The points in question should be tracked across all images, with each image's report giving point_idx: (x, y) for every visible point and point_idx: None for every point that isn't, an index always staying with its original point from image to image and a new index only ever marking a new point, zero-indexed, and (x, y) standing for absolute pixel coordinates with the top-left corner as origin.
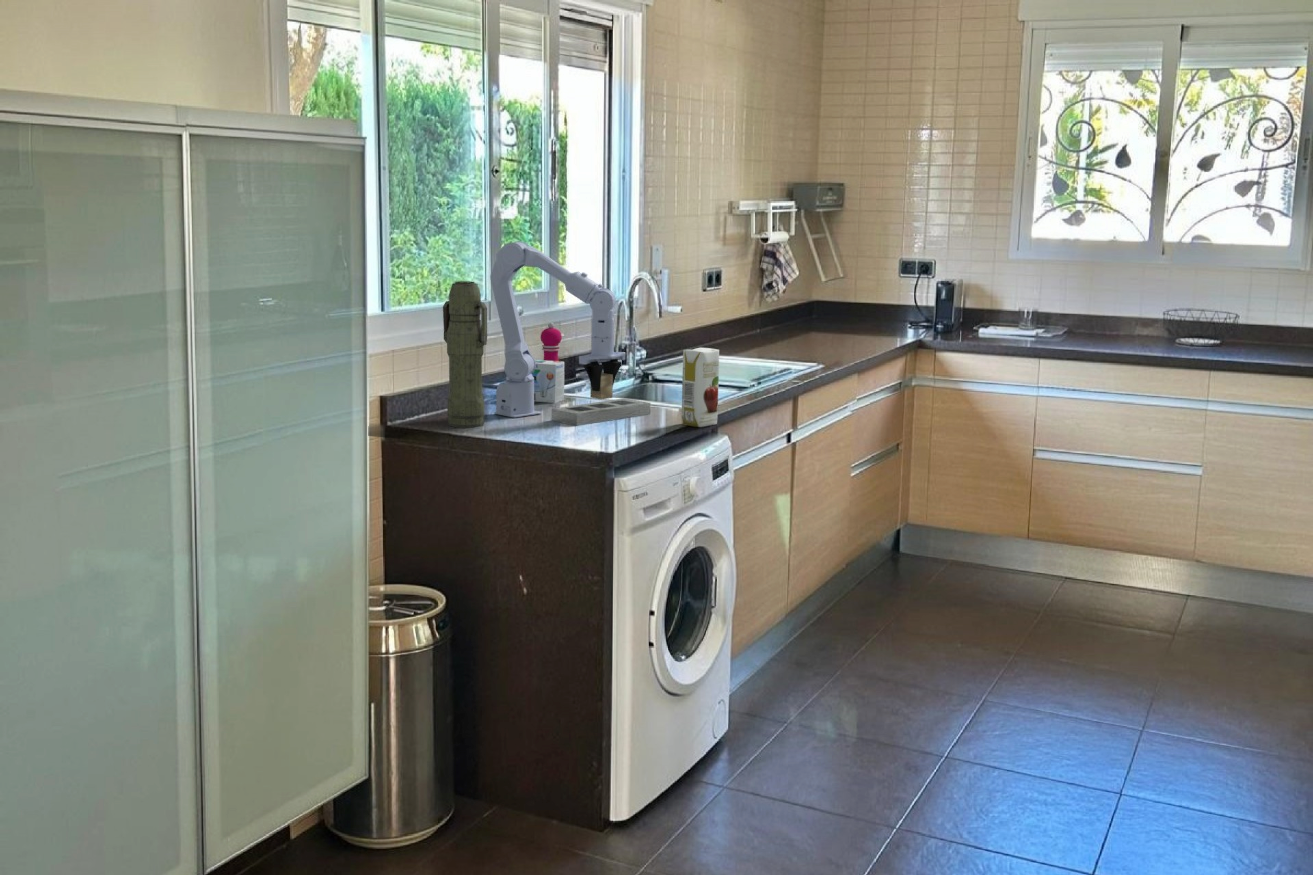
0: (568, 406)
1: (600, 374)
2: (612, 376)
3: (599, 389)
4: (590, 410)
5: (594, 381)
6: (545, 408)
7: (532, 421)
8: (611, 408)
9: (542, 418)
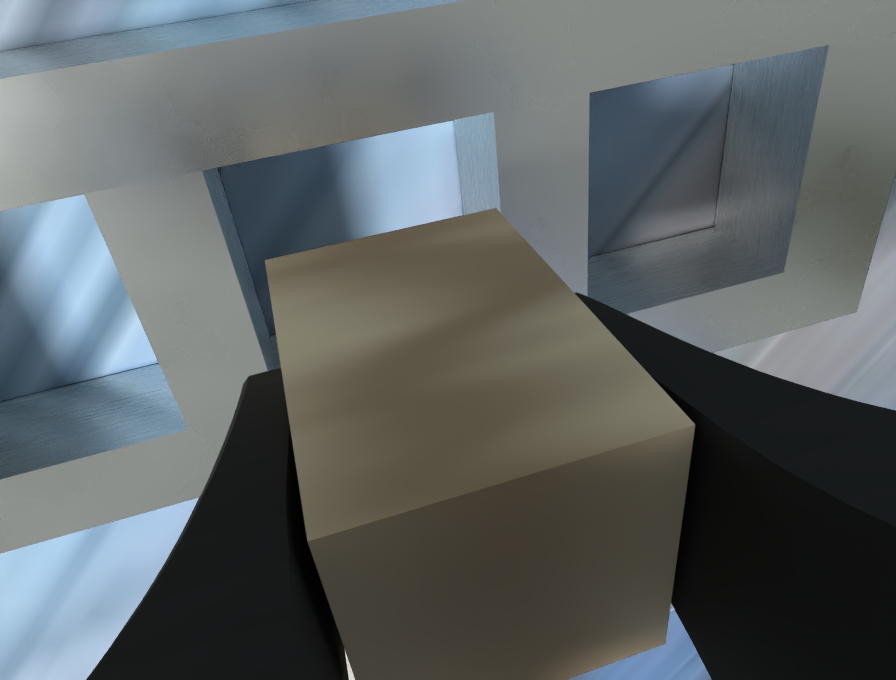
0: None
1: (763, 433)
2: (312, 500)
3: None
4: (700, 40)
5: None
6: None
7: (883, 290)
8: (390, 24)
9: (757, 361)
